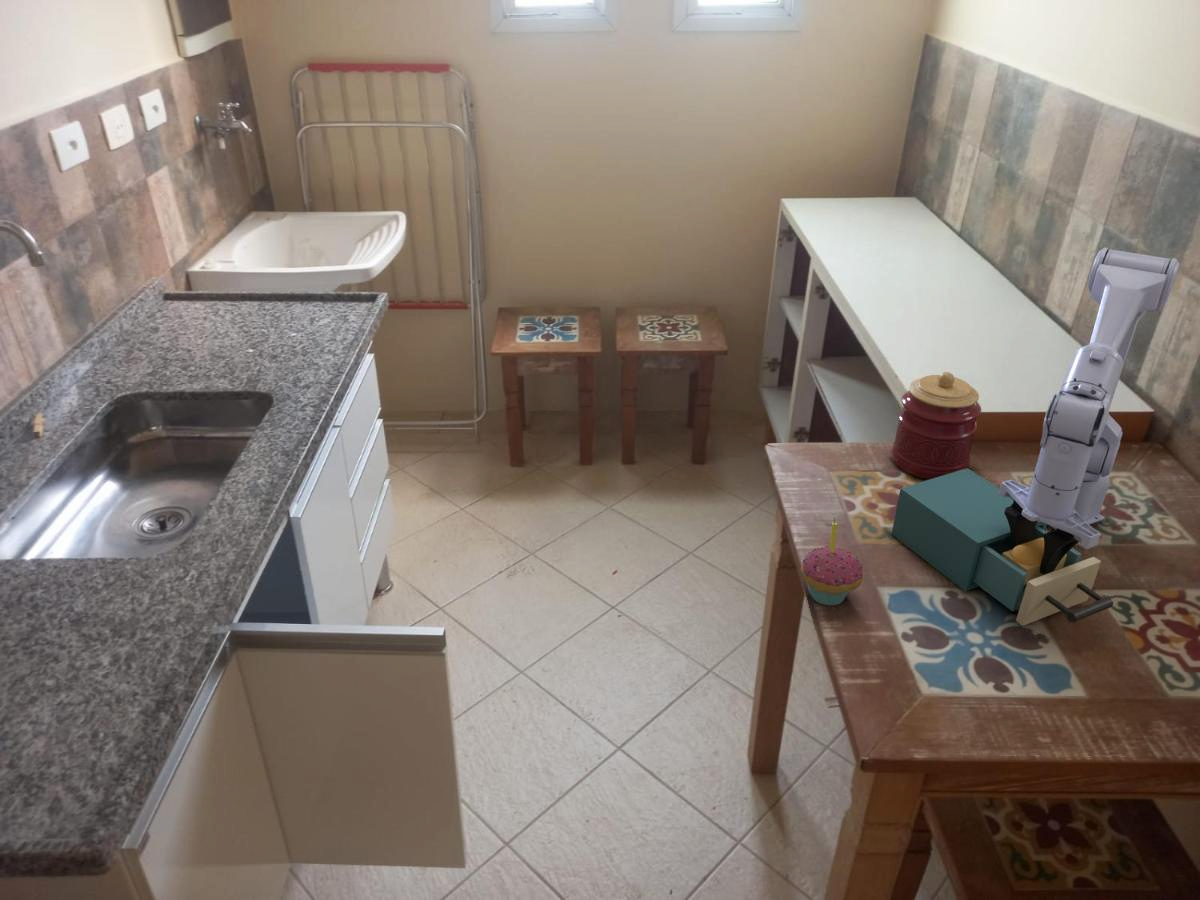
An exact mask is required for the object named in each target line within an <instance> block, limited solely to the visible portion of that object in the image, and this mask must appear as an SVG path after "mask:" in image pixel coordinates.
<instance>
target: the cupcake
mask: <svg viewBox="0 0 1200 900" xmlns="http://www.w3.org/2000/svg"><path fill="white" fill-rule="evenodd" d="M837 528H838V524H837V522H836V517H833V522H832V523H831V529H830V532H831V533H830V544H829V545H825V546H824V547H822V546H821V547H817V548H815V549H812V550H811V551H808V553H807V554H806V555H805V557H804V558H803V559H802V563H801V566H800V573H801V576H802V577H803V580H804V582H805V583H806V584H807V585H808V589H809V593H810V596H811V598H812V599H813V600H814V601H815V602H816V603H819V604H821V605H825V606H836V605H837V606H838V605H839V604H842V603H843V602H844V600H845V598H846V597H847V595H848V593H849V592H850V591H855V590H858V588H859V587H860V586H861V585H862V582H863V580H864V571H865V570H864V569H863V567H864V566H863V564H861V562H860V561H859V560H858V559H857V557H856V556H855V555H854V554H852V552H850V551H846V550H845V549H842V548H839V547H836V537H837Z"/></svg>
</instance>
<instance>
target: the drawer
mask: <svg viewBox="0 0 1200 900" xmlns="http://www.w3.org/2000/svg"><path fill="white" fill-rule="evenodd" d="M1048 532H1049V531H1047V530H1046V529H1045V530H1043V529H1042V528H1040V527H1039V526H1038V527H1035V529H1034V531H1033V534H1032V537H1031V541H1032V540H1035V539H1038V538H1044V537H1043V536H1044V534H1045V533H1048ZM1010 550H1012V540H1011V536H1009V537H1006V538H1003V539H1000V540H997V541H995V542H992V543H989V544H986V545H983V546H981V548H980V552H979V556H978V559H977V563H976V567H975V571H974V575H973V579H972V581H973V582H974V583H976V584H977V585H978V586H979V587H980V588H981V589H982V590H983V591H984V592H986V593H987V594H988V595H990V596H991V597H993V598H994V599H995V600H996V601H998V602H999V603H1001V604H1002V605H1003V606H1005V607H1006V608H1007V609H1009V610H1010V611H1011V612H1015V611H1017V612H1018V613H1017V616H1016V619H1015V622H1017V623H1019V624H1020V626H1023V627H1024V626H1026V625H1028V624H1031V623H1034V622H1036V621H1038V620H1040V619H1044V618H1047V617H1049V616H1052V615H1055V614H1056V613H1059V612H1062V613H1063V614H1065V616H1066V619H1067V620H1068V622H1070V623H1076V622H1078V621H1081V620H1083V619H1086V618H1088V617H1090V616H1093V615H1096V614H1097V613H1098V614H1099V613H1101V612H1103V611H1105V610H1108V609H1110V608H1112V607H1113V606H1114V601H1113V600H1112V598H1110V597H1108V596H1105V597H1103V596H1101V595H1100V594H1099V593H1097V592H1096V591H1094V590H1093V586H1094V584H1095V580H1096V578H1097V575H1098V572H1099V569H1100V566H1101V563H1102V561H1101V560H1099V559H1098V558H1096V556H1092V557H1088V558H1087V559H1083V560H1081V556H1082V552H1080V551H1078V550H1076V549H1075V548H1074V547H1073V548H1072V549H1071V550H1070V551H1069V552H1068V553H1067V554H1066V555H1067V557H1066V560H1065V563H1064V566H1063V568H1062V569H1060V570H1057V571H1054V572H1052V573H1049V574H1046V575H1043V576H1041V577H1038V578H1035V579H1033V580H1030V581H1028V582H1027V584H1025V585H1024V583H1025V580H1026V577H1027V573H1025V572H1024V571H1022V570H1021V569H1020V568H1018V567H1017V566H1015V565H1014V564H1013V563H1011V562H1010V561H1008V560H1007V559H1005V558H1004V557H1003V556H1002V554H1003V553H1004V552H1007V551H1010ZM1080 560H1081V561H1080ZM1089 597H1090V598H1092V599H1094V600H1095V601H1092V602H1090V603H1088V604H1085V605H1083V606H1080V607H1078V608H1075V609H1072V610H1071V609H1070V608H1072V607H1074V606H1077V605H1079V604H1081V603H1084V602H1087V601H1089Z"/></svg>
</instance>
